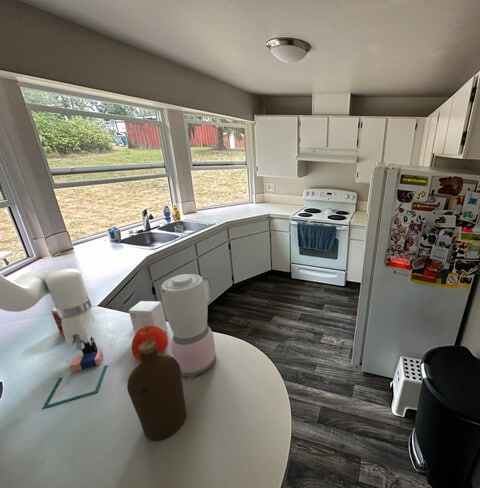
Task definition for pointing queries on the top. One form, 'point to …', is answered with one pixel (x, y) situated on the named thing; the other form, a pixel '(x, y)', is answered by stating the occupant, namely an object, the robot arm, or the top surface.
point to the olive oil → (157, 393)
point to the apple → (149, 339)
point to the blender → (189, 322)
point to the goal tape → (72, 397)
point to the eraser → (86, 361)
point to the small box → (147, 315)
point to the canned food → (57, 319)
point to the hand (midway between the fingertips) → (91, 353)
